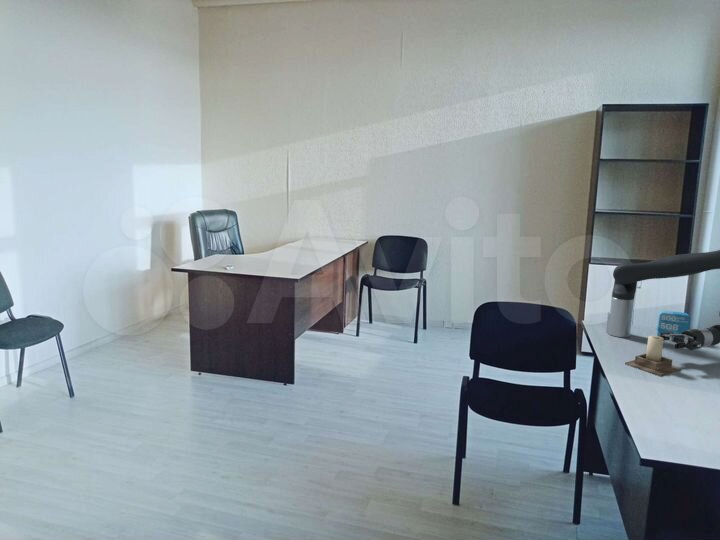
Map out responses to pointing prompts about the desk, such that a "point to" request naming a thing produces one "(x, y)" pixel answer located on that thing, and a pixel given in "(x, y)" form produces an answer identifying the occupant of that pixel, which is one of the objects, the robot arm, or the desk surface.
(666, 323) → the data package
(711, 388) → the desk surface
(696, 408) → the desk surface
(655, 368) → the roll stand
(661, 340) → the paper roll
